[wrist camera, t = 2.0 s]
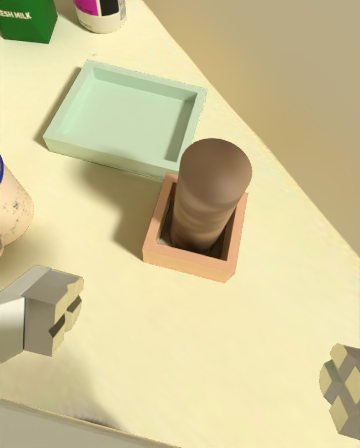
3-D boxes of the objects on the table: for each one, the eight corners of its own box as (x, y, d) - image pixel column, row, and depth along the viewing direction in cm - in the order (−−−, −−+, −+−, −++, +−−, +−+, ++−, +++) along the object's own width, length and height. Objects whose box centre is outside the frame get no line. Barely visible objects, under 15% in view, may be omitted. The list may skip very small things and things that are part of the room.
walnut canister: (164, 250, 33) (172, 188, 21) (176, 209, 36) (189, 131, 23) (210, 262, 33) (246, 207, 21) (219, 220, 36) (256, 148, 23)
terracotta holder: (143, 261, 33) (142, 249, 29) (164, 192, 37) (166, 172, 33) (224, 283, 32) (235, 273, 28) (237, 210, 36) (248, 193, 32)
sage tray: (49, 151, 38) (42, 136, 35) (91, 76, 44) (87, 59, 41) (181, 184, 37) (183, 172, 35) (204, 104, 44) (207, 89, 41)
